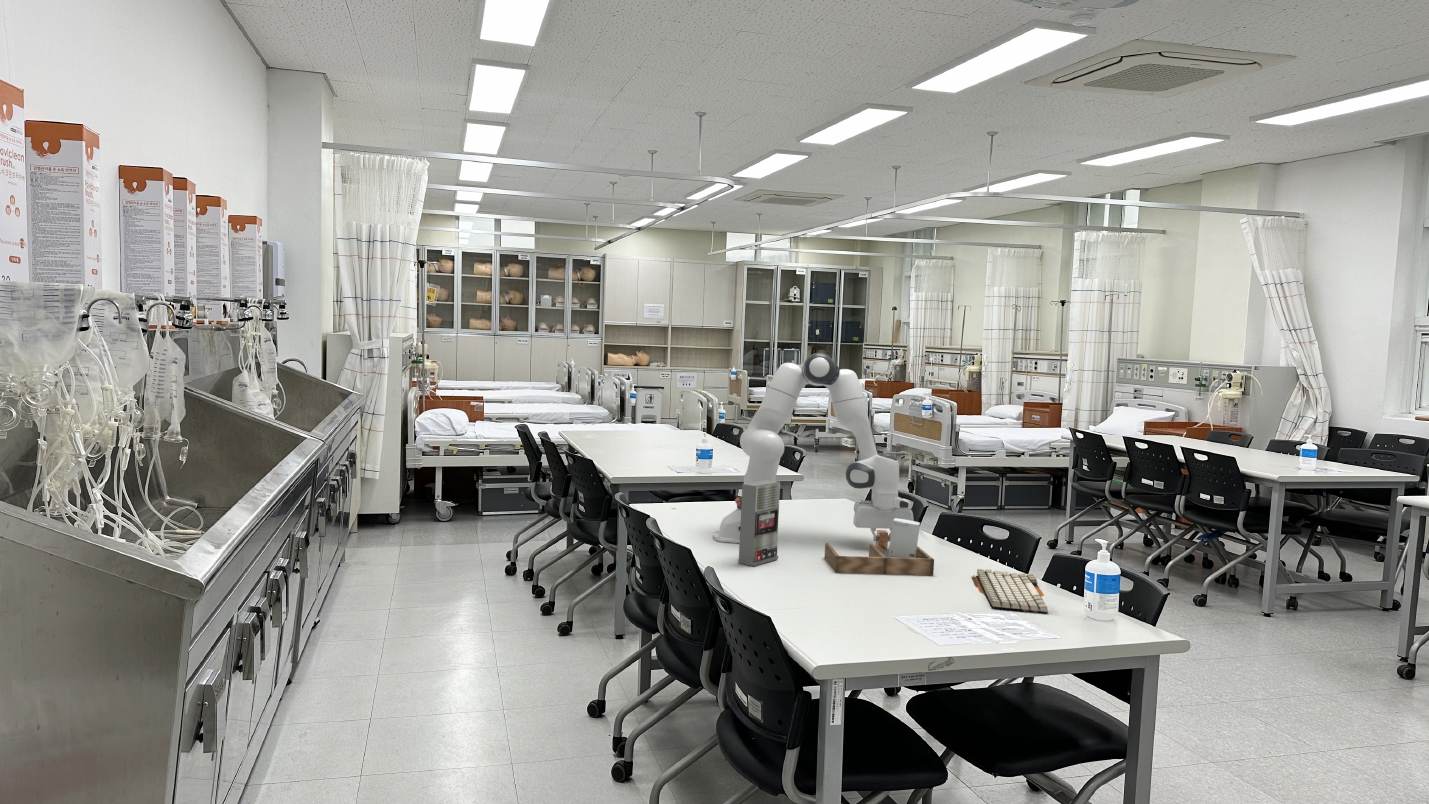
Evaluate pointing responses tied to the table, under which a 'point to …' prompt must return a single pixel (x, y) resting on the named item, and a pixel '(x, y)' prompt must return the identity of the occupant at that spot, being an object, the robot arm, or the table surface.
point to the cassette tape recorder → (759, 522)
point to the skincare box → (904, 538)
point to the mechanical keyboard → (1010, 591)
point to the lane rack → (880, 563)
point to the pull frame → (882, 542)
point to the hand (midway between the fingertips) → (882, 541)
